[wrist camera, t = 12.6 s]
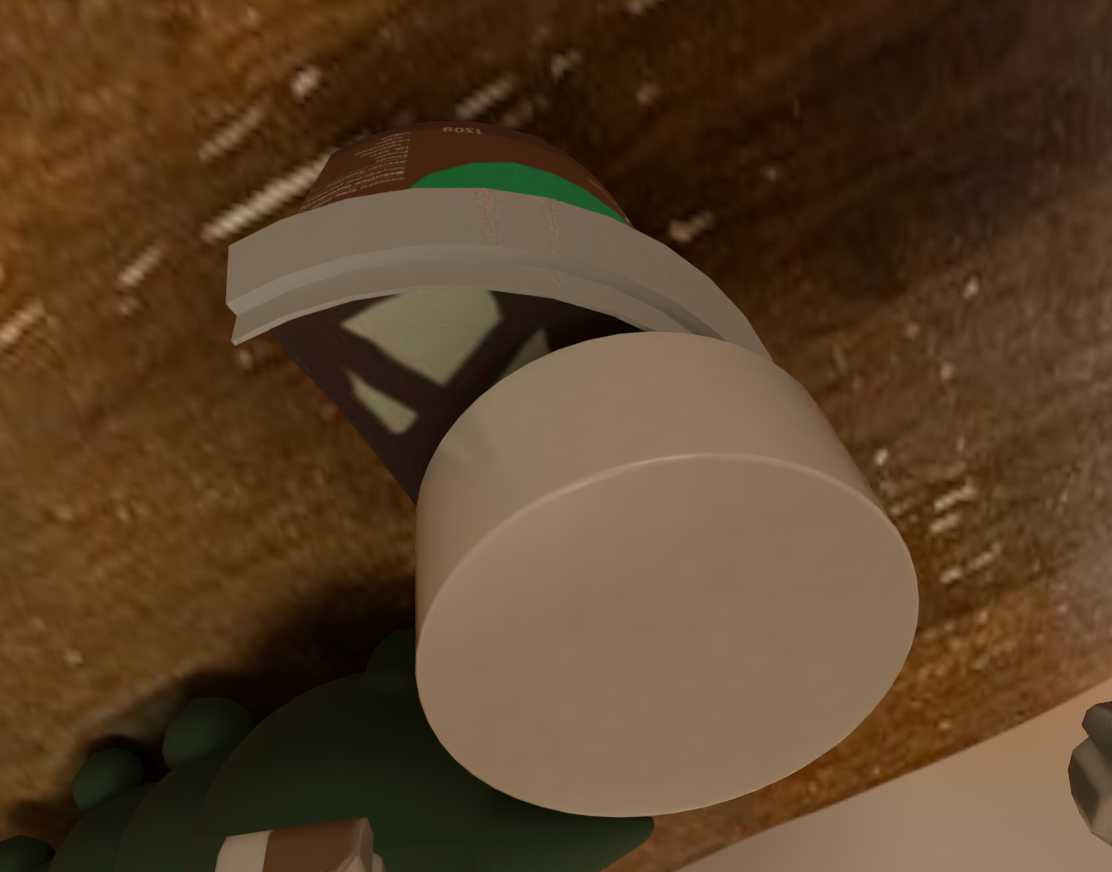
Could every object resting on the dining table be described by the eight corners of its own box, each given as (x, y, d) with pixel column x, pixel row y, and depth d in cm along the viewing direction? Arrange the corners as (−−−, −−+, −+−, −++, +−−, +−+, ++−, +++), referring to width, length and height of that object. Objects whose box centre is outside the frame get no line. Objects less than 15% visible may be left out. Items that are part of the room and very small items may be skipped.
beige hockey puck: (855, 297, 13) (955, 416, 11) (824, 634, 17) (893, 779, 15) (375, 365, 13) (366, 504, 11) (451, 693, 17) (457, 851, 14)
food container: (765, 381, 26) (926, 661, 18) (564, 483, 27) (629, 791, 19) (540, -66, 19) (633, 53, 11) (288, 95, 21) (202, 311, 12)
